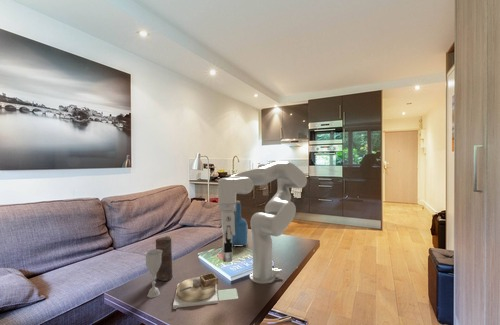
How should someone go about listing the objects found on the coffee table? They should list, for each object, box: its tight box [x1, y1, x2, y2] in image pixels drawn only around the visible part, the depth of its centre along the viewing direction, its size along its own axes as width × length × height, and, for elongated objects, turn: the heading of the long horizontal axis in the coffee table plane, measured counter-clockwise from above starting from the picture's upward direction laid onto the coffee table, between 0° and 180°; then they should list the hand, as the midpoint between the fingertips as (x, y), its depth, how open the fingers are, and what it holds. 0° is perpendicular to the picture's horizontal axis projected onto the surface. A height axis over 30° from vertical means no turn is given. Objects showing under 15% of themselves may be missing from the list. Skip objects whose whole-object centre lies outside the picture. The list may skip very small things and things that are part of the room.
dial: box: [176, 272, 219, 302], centre depth 101 cm, size 17×16×5 cm
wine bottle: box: [232, 200, 249, 246], centre depth 164 cm, size 14×13×30 cm
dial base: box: [172, 282, 219, 310], centre depth 101 cm, size 17×17×2 cm
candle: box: [155, 235, 173, 282], centre depth 115 cm, size 8×7×20 cm
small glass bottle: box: [222, 233, 233, 263], centre depth 100 cm, size 4×4×12 cm
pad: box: [217, 287, 239, 302], centre depth 100 cm, size 8×8×1 cm
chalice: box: [144, 248, 163, 299], centre depth 101 cm, size 7×7×18 cm
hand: (227, 249), depth 100 cm, fingers closed on small glass bottle, 4 cm apart
